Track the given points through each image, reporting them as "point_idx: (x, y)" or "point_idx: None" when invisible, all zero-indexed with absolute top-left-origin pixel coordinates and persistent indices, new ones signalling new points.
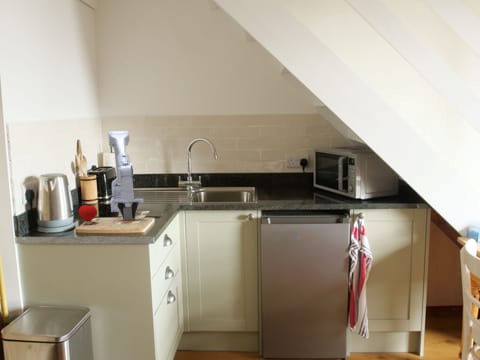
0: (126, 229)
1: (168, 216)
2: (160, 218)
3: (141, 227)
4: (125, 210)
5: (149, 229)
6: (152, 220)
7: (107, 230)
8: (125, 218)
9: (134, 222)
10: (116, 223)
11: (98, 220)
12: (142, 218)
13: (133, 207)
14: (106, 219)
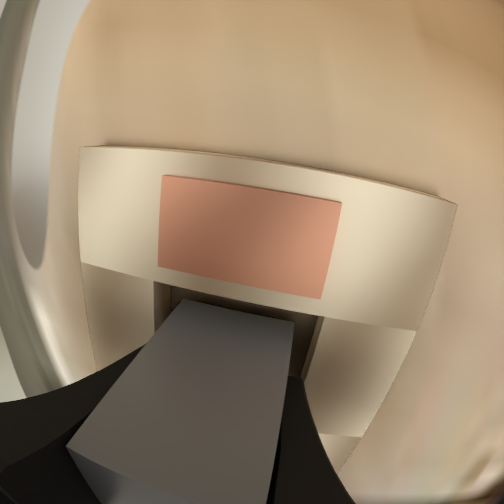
0: (231, 19)
1: (24, 391)
2: (38, 373)
3: (76, 97)
4: (217, 464)
5: (30, 32)
6: (57, 348)
7: (471, 53)
8: (262, 353)
9: (127, 204)
10: (403, 222)
11: (481, 460)
12: (99, 369)
13: (13, 422)
14: (430, 478)
